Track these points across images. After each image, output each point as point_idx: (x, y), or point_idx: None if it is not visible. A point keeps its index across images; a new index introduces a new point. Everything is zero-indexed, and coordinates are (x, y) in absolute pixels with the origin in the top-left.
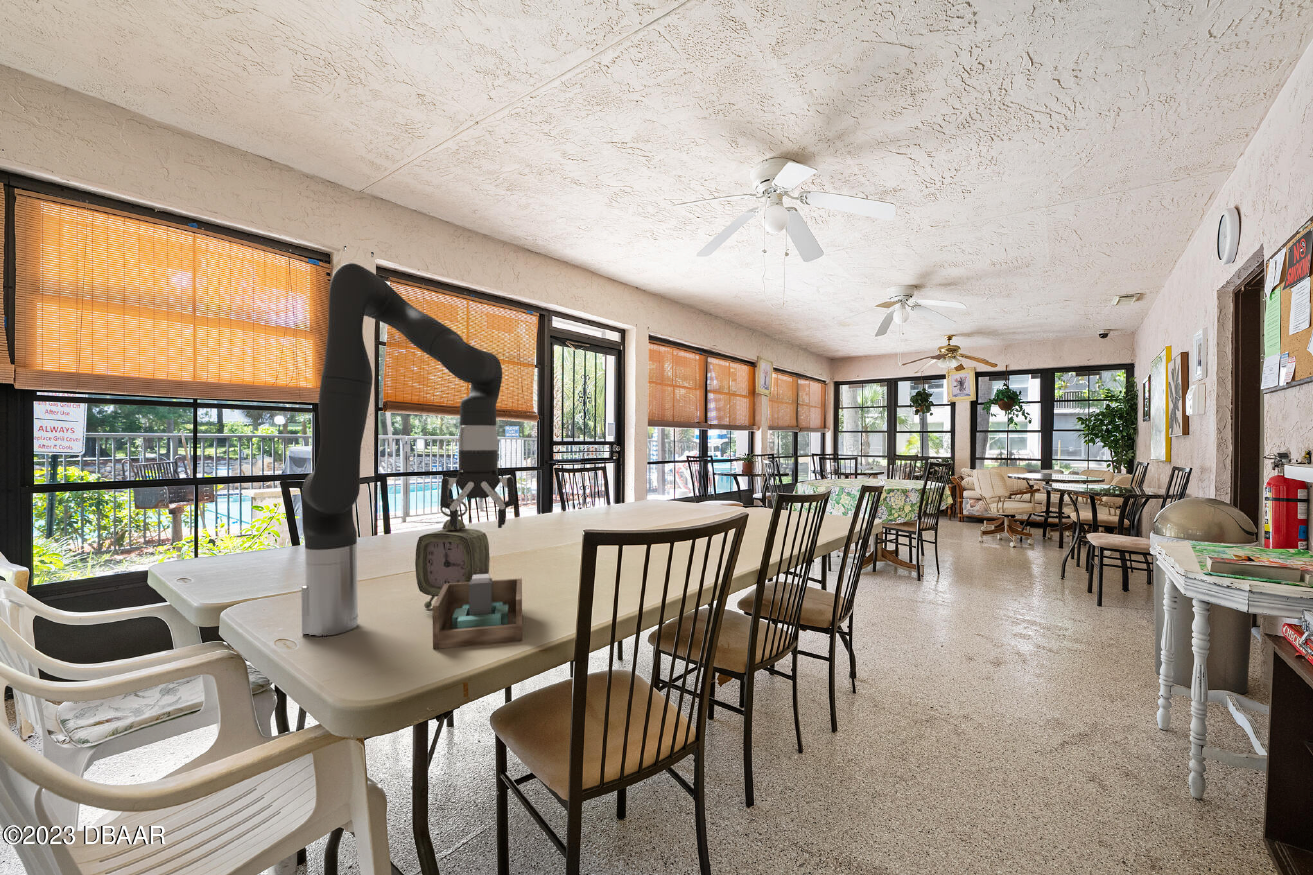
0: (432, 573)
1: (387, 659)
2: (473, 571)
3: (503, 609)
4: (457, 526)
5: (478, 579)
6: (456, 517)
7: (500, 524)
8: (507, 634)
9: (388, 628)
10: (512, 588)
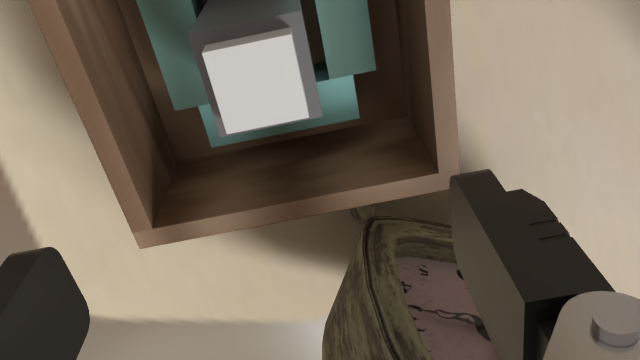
0: None
1: None
2: (360, 279)
3: (170, 45)
4: (457, 207)
5: (255, 38)
6: (499, 242)
7: (10, 267)
8: None
9: (598, 59)
10: (178, 205)
